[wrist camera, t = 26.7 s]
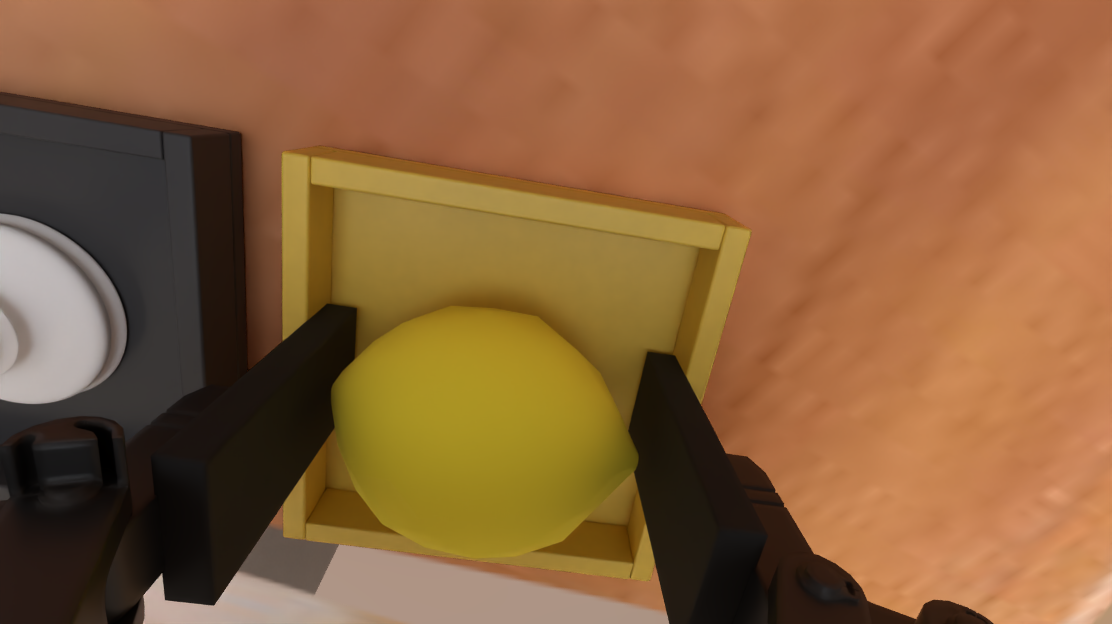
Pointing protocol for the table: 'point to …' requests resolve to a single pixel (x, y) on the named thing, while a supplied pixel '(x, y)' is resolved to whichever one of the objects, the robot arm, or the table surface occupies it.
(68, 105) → the charcoal tray
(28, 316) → the chess piece
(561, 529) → the lemon
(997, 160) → the table surface
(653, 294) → the yellow tray
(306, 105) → the table surface
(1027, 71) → the table surface
